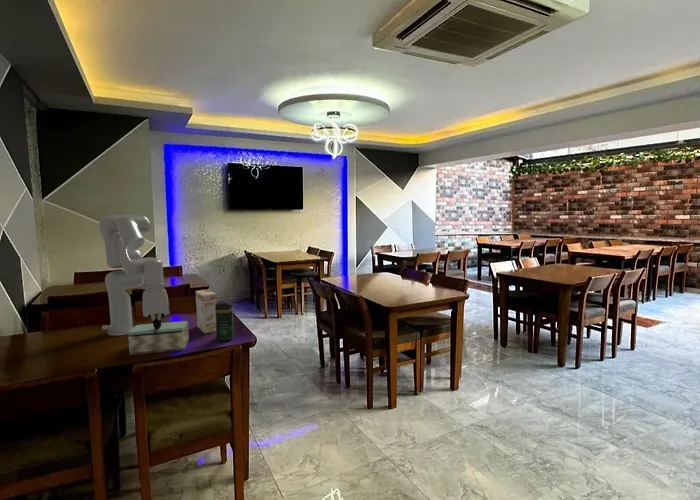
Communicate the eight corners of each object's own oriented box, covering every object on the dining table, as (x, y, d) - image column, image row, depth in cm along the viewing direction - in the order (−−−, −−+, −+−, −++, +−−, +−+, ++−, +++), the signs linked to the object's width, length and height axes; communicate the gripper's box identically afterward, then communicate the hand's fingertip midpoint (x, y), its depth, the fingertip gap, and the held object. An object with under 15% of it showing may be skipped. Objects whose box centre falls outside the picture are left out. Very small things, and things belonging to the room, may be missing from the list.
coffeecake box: (218, 331, 203) (216, 293, 201) (204, 333, 199) (202, 295, 197) (210, 324, 215) (208, 288, 213) (197, 326, 211) (194, 290, 209)
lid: (127, 335, 169) (127, 332, 169) (137, 327, 184) (136, 324, 184) (182, 331, 175) (182, 327, 174) (187, 323, 189) (187, 320, 189)
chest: (129, 355, 171) (128, 337, 170) (138, 344, 185) (137, 327, 184) (184, 349, 177) (183, 332, 176) (188, 339, 190) (187, 323, 189)
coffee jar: (232, 341, 187) (230, 302, 185) (215, 342, 186) (213, 303, 184) (235, 334, 197) (233, 298, 195) (219, 335, 196) (217, 298, 194)
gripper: (133, 290, 168) (136, 332, 170) (171, 288, 172) (174, 329, 174) (138, 287, 176) (141, 327, 178) (174, 284, 179) (177, 324, 181)
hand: (157, 328), depth 176 cm, fingers closed
